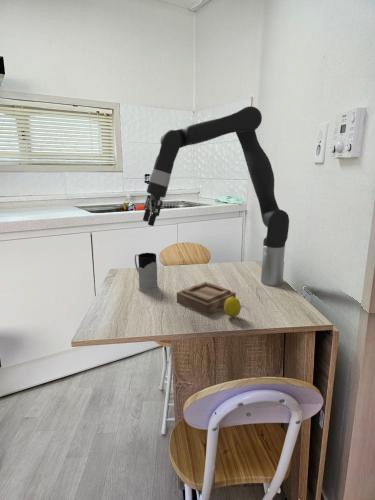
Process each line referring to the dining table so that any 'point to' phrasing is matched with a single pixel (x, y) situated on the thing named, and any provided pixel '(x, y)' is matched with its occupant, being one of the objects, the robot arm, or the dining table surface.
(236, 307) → the lemon
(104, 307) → the dining table surface
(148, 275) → the glass holder
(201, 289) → the brown wooden crate
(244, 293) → the dining table surface
